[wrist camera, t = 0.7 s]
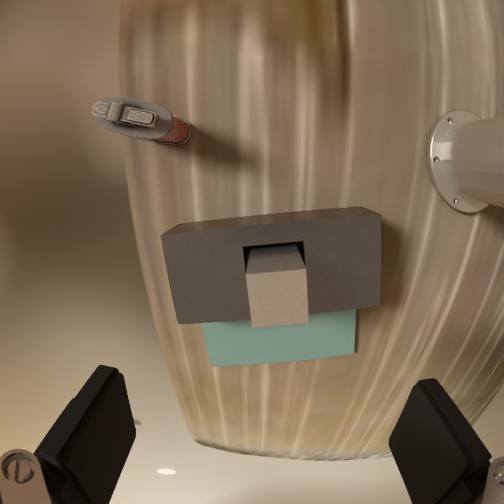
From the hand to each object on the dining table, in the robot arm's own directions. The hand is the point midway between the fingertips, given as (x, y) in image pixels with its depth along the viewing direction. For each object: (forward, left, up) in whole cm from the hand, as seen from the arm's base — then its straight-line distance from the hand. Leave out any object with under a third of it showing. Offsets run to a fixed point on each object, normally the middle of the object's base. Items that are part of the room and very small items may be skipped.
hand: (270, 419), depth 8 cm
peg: (-1, +2, -25) cm, 25 cm away
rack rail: (-1, +2, -25) cm, 25 cm away
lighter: (+10, -14, -26) cm, 31 cm away
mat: (-1, +11, -25) cm, 28 cm away
